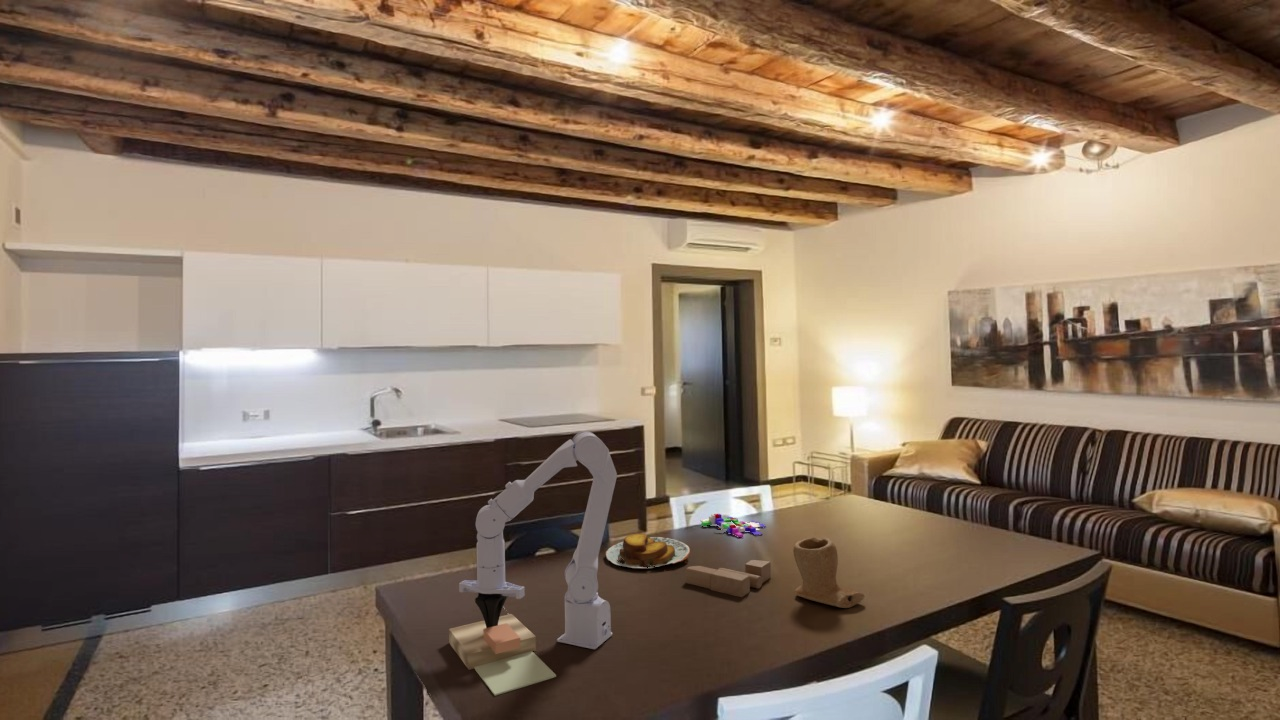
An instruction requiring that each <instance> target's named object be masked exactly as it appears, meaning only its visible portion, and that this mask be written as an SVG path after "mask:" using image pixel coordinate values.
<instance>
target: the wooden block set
mask: <svg viewBox="0 0 1280 720" xmlns="http://www.w3.org/2000/svg"><path fill="white" fill-rule="evenodd" d="M744 566H745V567H744V568H745V569H744V570H745V571H740V570H739V571H737V570H734V569H729V568H724V567H718V569H717V568H716V569H715V568H710V567H708V566H707V567H706V566H702V565H692V566H688V567H686V568H685V569H684V572H685V573H684V574H685V583H686V584H688V585H692V586H696V587H701V588H706V589H709V590H711V591H714V592H718V593H722V594H727V595H730V596H734V597H738V598H739V597H740V598H743V597H744V596H746V595H747V594H749V593H750V592H751V588H753V589H761V587H762V584H763V583H765V582H767V581H768V580H769V579H771V578H772V575H771V574H772V573H771V572H772V570H771V569H772V567H771V561H769V560H768V561H767V560H758V559H751V560H749V561H748V562H746V563H745V565H744Z"/></svg>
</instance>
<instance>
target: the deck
mask: <svg viewBox="0 0 1280 720" xmlns="http://www.w3.org/2000/svg"><path fill="white" fill-rule="evenodd" d="M508 614H509V615H508ZM508 614H506V615H500V617H499V621H498V625H501V624H505V623H507V624H508V625H509V626H510V627H511V628H512V629H513V630H514V631H515V633H516V634H517V635H518V636H519V637H520V648H517V649H514V650H510V651H506V652H502V653H499V654H495V652H494V651H493V650H492V649H491V647H490V646H489V645H488V644H487V642H486V641H485V640H484V639H483V629H485V628H486V624H485V621H484V620H480V621H476V622H472V623H469V624H464V625H463V624H462V625H460V626H455V627H452V628H448V643H449V645H450V646H451V648H452V649H453V650H454V652H455V653H456V654H457V656H458V657H459V659H460V660H461V661H462V663H463V664H464V665H465V667H466V668H467V669H468V670H469V671H470V670H475V669H474V667H476V666H480V665H483V664H487V663H490V662H494V661H497V660H501V659H505V658H508V657H512V656H515V655H519V654H522V653H526V652H529V651H532V652H533V651H534V652H537V637H536V635H535V634H534V633H533V632H532V631H531V630H529V629H528V628H527V627H526V626H525V625H524V624H523V623H522V622H521V621H520V620H519V619H518V618H517V617H516V616H515V615H514V614H513V613H508ZM534 652H533V653H534Z"/></svg>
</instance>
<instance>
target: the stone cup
mask: <svg viewBox="0 0 1280 720" xmlns="http://www.w3.org/2000/svg"><path fill="white" fill-rule="evenodd" d="M793 557H794V562H795V564H796V567H797V569H798V571H799V573H800V576H801V579H802V584H801V585H799V586H797V587H796V588H795V590H794V593H795V594H796V596H798V597H801V598H803V599H807V600H810V601H814V602H817V603H821V604H825V605H828V606H833V607H837V608H843V609H848V608H849V609H850V608H852V607H854V606H857V605H858V604H860V603H861V602H862V600H864V599H865V593H863V592H860V591H855V590H852V589H849V588H846V587H843V586H839V584H838V583H837V572H838V571H837V570H838V564H839V557H838V549H837V546H836V545H835V543H834V542H833V540H831V539H829V538H828V537H821V538H818V537H808V538H806V537H805V538H804V539H801V540H799V541H796V543H795V544H794V546H793Z"/></svg>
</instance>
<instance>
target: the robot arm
mask: <svg viewBox="0 0 1280 720" xmlns="http://www.w3.org/2000/svg"><path fill="white" fill-rule="evenodd" d="M577 461H578V462H579V463H580V464H582V465H583V466H584V467H585V468H586V469H587V470H588V471H589V473H590V475H592V479H593V480H592V484H591V487H590V491H589V496H588V499H587V503H586V504H587V505H586V509H585V513H584V516H583V521H582V525H581V530H580V533H579V537H578V541H577V546H576V548H575V551H574V552H573V556H572V558H571V561H570V562H569V563H568V565H567V566H566V568H565V570H564V578H565V579H564V580H565V581H566V584H567V591H566V592H565V593H564V628H565V629H564V634H561V636H560V637H558V638H557V639H556V641H557V642H558V643H562V644H568V645H573V646H577V647H579V648H580V647H581V648H587V649H590V650H597V649H598V647H600V646H601V645H602V644H604V642H605V641H607V640H608V639H609V638H610V637H612V636H613V632H612V627H611V626H612V625H611V623H612V621H611V620H612V619H611V618H612V617H611V616H612V615H611V605H610V603H609V601H608V600H605V599H603V598H602V597H600V596H599V592H598V590H599V582H598V578H597V575H598V570H599V554H600V551H601V546H602V542H603V538H604V533H605V528H606V524H607V520H608V516H609V513H610V509H611V503H612V500H613V496H614V495H613V494H614V490H615V486H616V481H617V477H618V473H617V470H616V466H615V465H614V461H613V459H612V457H611V453H610V449H609V448H608V447H607V446H606V444H605V443H604V442H603V440H602V439H600V438H599V437H598V436H597V435H596V434H594V432H591V431H588V430H584V431H583V430H582V431H579V432H577V433H576V434H575V435H574V436H573V438H572V439H571V438H570V439H568V440H567V441H565V442H564V443H563V444H561V446H559V447H558V448H557V449H556V450H555V451H554V452H553V453H551V455H549V456H548V457H547V459H545V460H544V461H543V462H542V463H541V464H540V465H539V466H538V467H537V468H535V470H533V472H531V474H530V475H528V476H527V477H526V478H525V479H516V480H514V481H512V482H511V481H508V482H507V483H506V484H505V485H504V486H505V489H504V490H502V492H500V493H499V494H497V496H495V498H490V499H489V500H488V501H487V504H486V505H484V506H482V507H481V508H480V509H479V511H478V512H477V515H476V518H475V528H476V531H477V534H476V540H477V542H476V577H477V578H476V579H477V580H467V579H464V580H462V581H461V582H459V584H458V591H459V593H465V592H467V593H475V594H477V597H475V599H474V602H475V604H476V605H477V607H478V608H479V610H480V613H481V615H482V618H483V621H485V624H486V628H489V627H493V626H497V625H498V621H499V617H500V616H501V612H502V610H503V606H505V605H504V604H505V603H506V600H507V599H508V597H509V598H515V599H516V600H521V599H522V598H524V597H525V596H526V595H525V592H526V591H525V589H526V588H525V586H523V585H518V584H514V583H511V582H508V581H506V554H505V553H506V551H505V548H506V545H505V538H504V529H505V526H506V523H508V522H510V521H511V520H513V519H514V518H515V517H517V515H519V514H520V513H521V512H522V511H523V510H525V508H526V507H527V506H529V505H530V504H531V503H532V502H533V501H534V496H535V492H536V491H537V490H538V489H539V488H540V487H542V486H544V484H545V483H546V482H548V481H550V480H551V478H553V477H554V476H555V475H556V474H558V473H559V472H560V471H561V470H563V469H564V468H575V467H578V464H577Z"/></svg>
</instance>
